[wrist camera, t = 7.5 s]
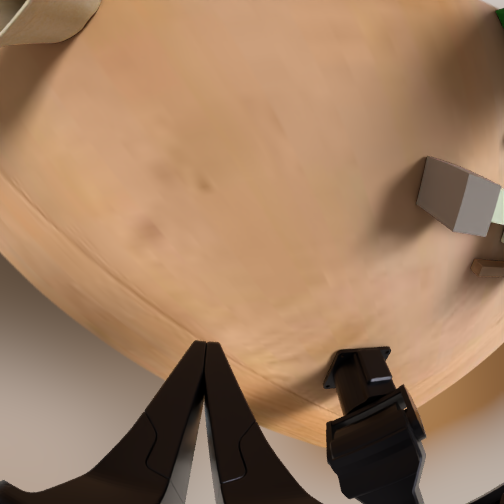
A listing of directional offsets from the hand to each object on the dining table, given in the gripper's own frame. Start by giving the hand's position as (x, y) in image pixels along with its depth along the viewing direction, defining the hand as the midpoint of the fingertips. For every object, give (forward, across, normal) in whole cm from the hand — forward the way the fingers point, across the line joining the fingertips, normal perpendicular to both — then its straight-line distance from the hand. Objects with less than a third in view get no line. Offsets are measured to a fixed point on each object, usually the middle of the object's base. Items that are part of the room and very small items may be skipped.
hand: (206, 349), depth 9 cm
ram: (+12, -22, -5) cm, 26 cm away
